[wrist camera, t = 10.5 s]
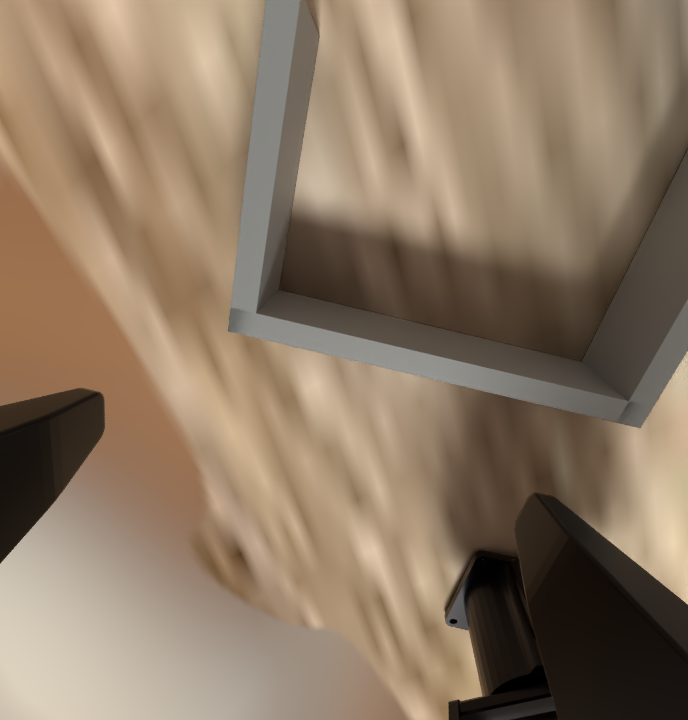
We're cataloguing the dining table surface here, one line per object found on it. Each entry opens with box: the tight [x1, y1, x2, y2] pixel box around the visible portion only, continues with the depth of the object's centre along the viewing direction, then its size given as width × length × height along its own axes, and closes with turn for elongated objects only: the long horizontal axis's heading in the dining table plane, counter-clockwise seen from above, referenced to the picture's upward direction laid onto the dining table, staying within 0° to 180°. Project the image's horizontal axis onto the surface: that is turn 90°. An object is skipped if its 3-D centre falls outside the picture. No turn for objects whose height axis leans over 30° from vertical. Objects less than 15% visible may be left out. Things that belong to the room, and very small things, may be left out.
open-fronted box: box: [228, 0, 688, 428], centre depth 16 cm, size 11×17×4 cm, turn 77°
